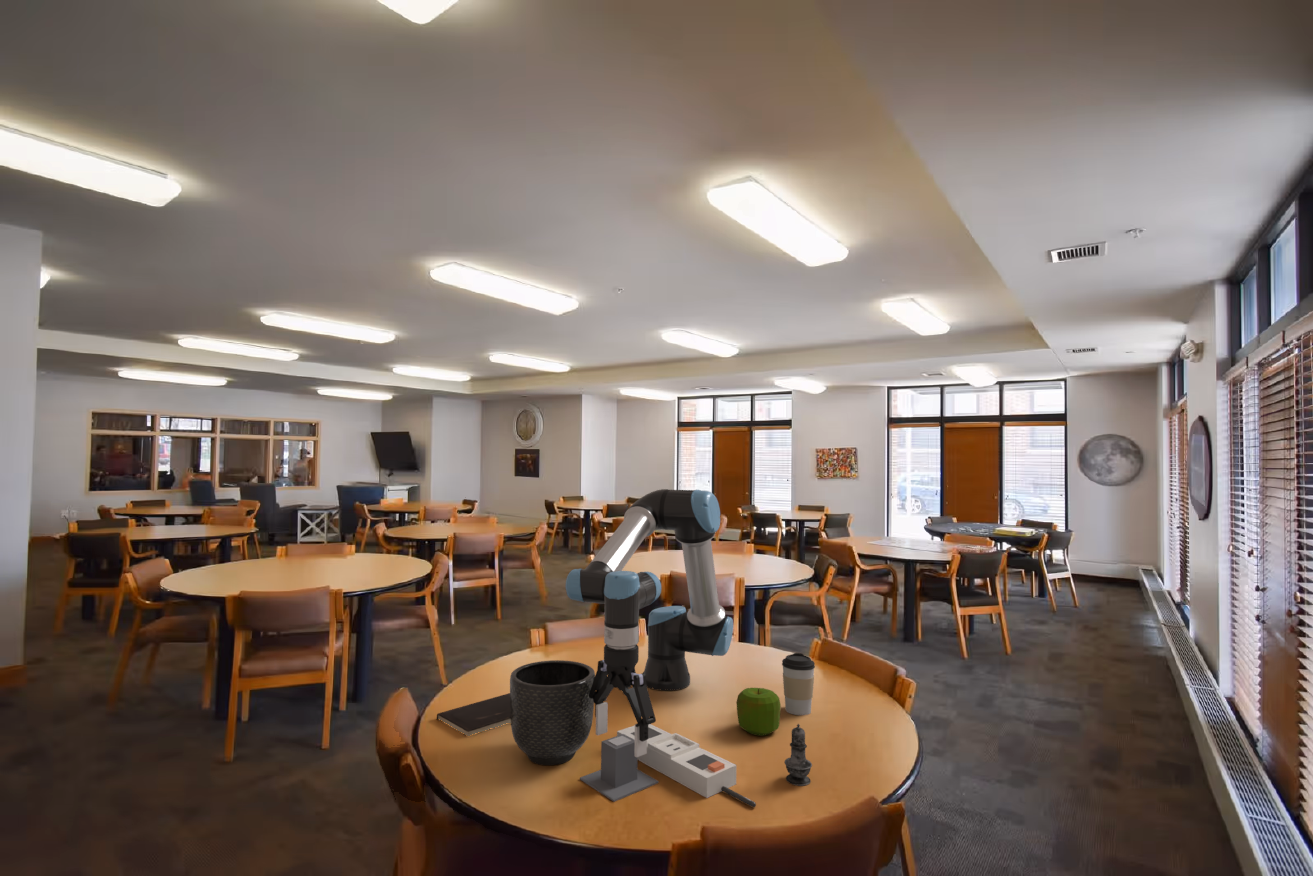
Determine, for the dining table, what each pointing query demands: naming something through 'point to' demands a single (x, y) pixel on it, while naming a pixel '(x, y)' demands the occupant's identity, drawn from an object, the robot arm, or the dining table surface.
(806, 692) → the coffee cup
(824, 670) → the dining table surface
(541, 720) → the planter
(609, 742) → the charger
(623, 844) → the dining table surface
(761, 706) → the apple
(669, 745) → the strip
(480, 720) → the hardcover book
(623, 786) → the mat
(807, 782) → the grey chess piece
